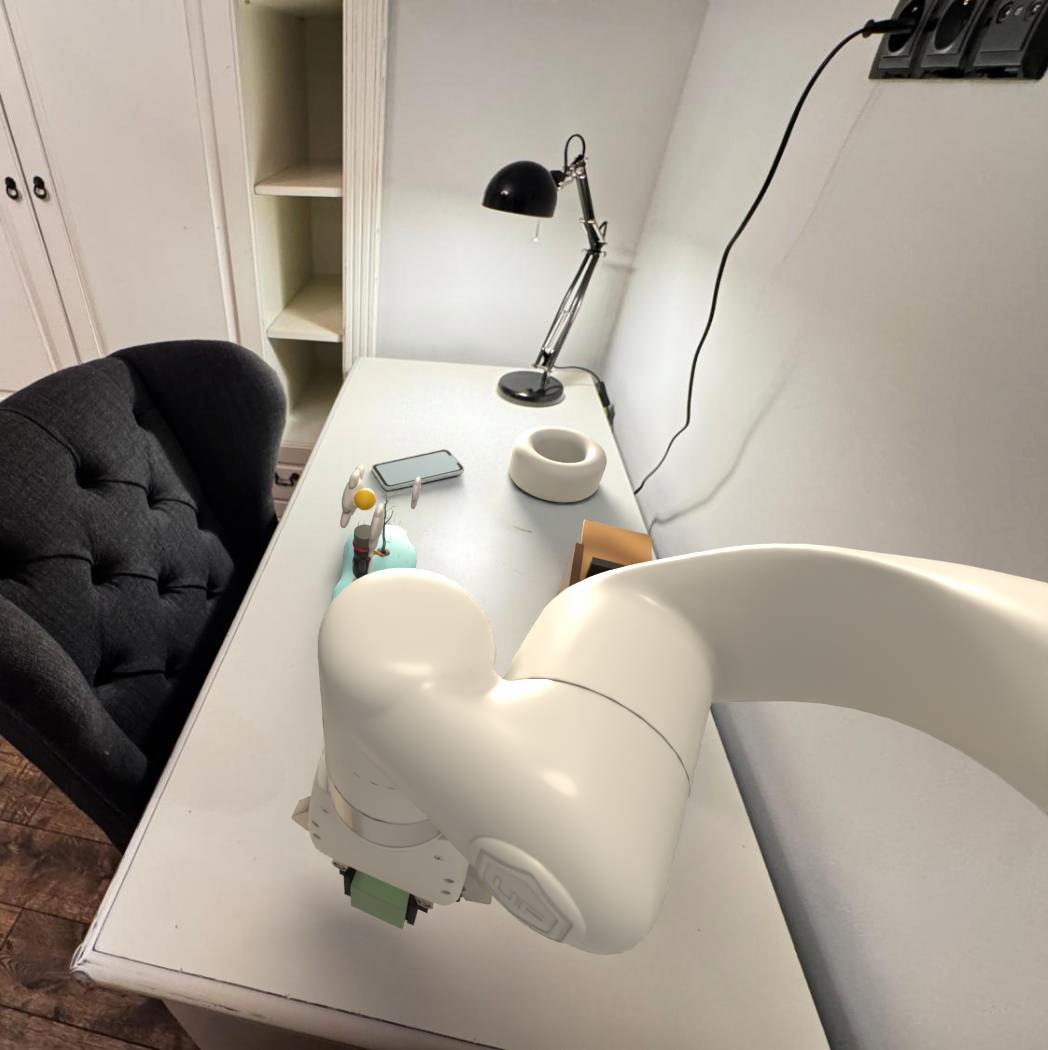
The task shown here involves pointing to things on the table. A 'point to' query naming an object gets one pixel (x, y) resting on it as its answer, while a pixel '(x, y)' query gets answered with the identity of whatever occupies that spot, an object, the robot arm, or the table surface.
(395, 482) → the smartphone
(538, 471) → the fat ring
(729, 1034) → the table surface
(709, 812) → the table surface
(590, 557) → the lid
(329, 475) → the table surface
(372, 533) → the penguin figurine
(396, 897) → the block
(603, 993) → the table surface
